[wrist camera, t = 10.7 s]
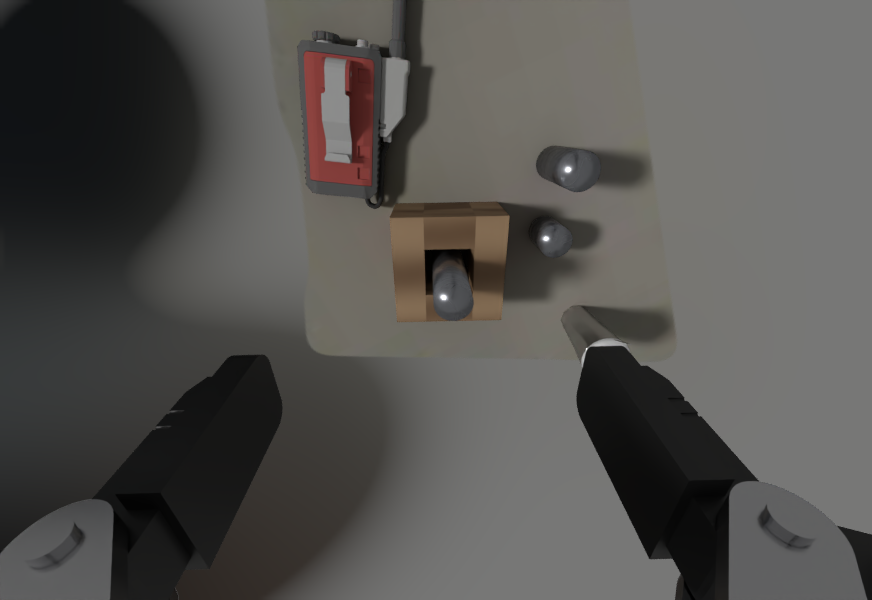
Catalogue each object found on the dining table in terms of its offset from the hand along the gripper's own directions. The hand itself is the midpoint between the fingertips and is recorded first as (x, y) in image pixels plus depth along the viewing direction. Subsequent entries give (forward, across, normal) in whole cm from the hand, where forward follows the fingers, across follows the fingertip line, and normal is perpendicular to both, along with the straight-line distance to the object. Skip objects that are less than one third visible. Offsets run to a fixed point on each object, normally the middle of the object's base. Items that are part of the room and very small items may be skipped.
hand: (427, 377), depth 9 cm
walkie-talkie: (+29, +6, -8) cm, 30 cm away
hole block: (+28, -2, +7) cm, 29 cm away
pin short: (+28, -12, +5) cm, 31 cm away
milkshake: (+28, -16, +15) cm, 36 cm away
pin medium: (+28, -12, -2) cm, 30 cm away
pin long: (+28, -2, +7) cm, 29 cm away
